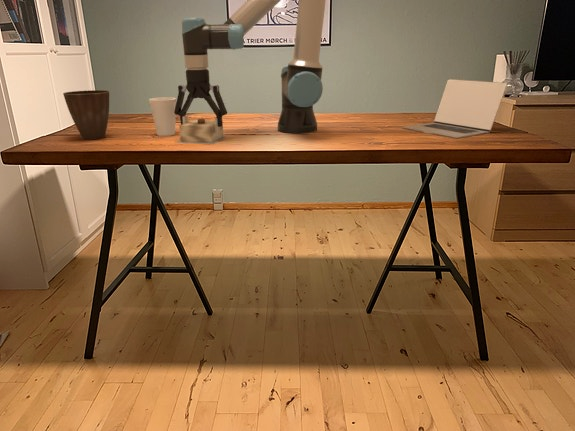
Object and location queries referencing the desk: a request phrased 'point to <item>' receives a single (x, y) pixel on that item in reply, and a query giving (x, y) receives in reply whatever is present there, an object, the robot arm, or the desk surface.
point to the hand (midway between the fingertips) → (202, 135)
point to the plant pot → (89, 112)
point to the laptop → (465, 109)
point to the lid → (199, 131)
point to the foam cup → (163, 115)
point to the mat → (202, 142)
